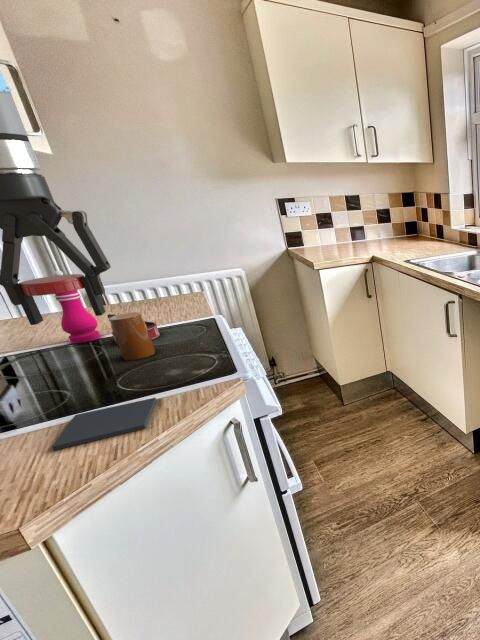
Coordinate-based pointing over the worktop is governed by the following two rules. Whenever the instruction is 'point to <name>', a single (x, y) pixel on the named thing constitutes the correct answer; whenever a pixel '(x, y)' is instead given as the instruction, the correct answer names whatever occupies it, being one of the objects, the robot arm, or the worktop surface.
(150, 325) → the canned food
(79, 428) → the mat
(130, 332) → the jar
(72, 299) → the pepper mill
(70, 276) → the lid
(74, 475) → the worktop surface
